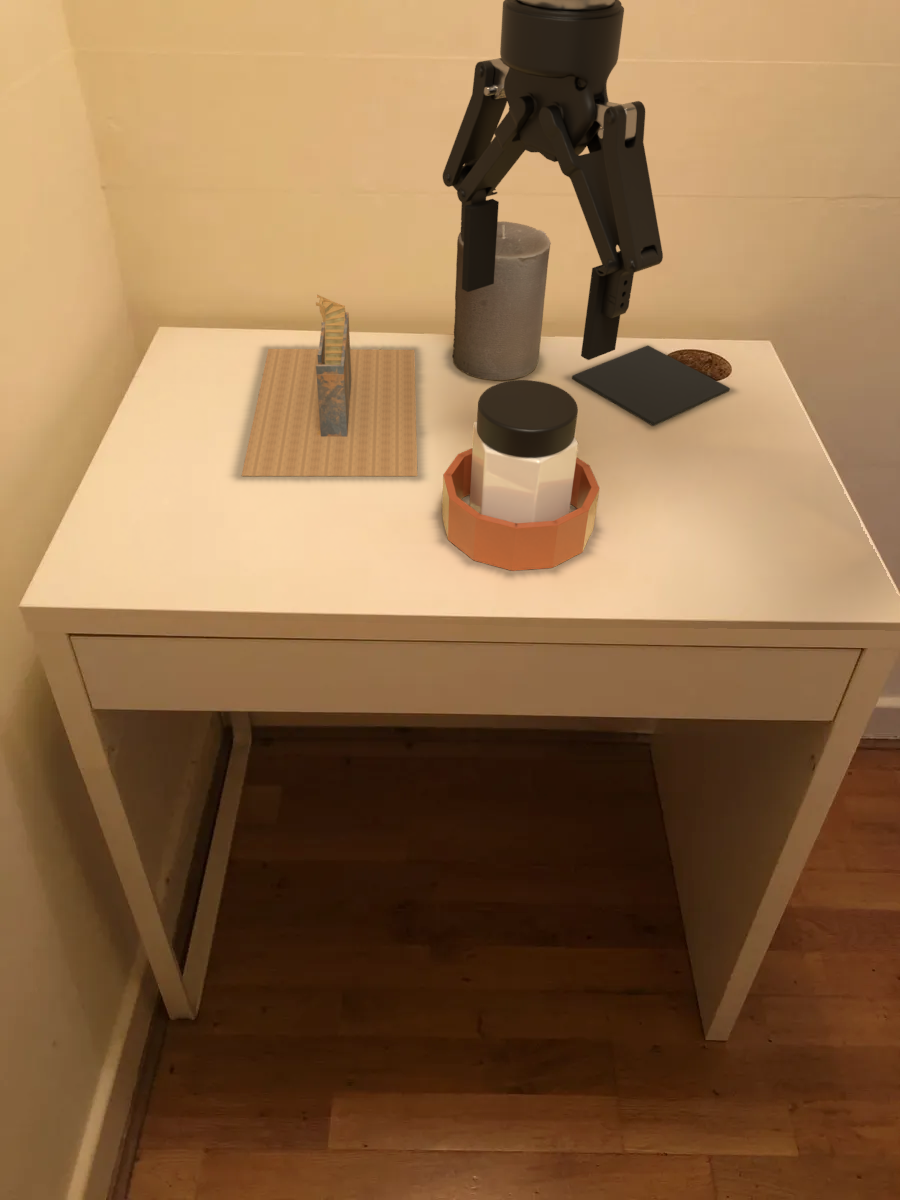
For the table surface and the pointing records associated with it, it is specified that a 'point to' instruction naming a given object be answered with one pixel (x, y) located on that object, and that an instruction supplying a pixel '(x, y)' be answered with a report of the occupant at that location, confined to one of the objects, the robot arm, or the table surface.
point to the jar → (524, 452)
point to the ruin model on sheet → (334, 409)
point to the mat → (650, 384)
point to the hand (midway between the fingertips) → (534, 318)
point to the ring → (517, 524)
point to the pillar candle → (503, 307)
